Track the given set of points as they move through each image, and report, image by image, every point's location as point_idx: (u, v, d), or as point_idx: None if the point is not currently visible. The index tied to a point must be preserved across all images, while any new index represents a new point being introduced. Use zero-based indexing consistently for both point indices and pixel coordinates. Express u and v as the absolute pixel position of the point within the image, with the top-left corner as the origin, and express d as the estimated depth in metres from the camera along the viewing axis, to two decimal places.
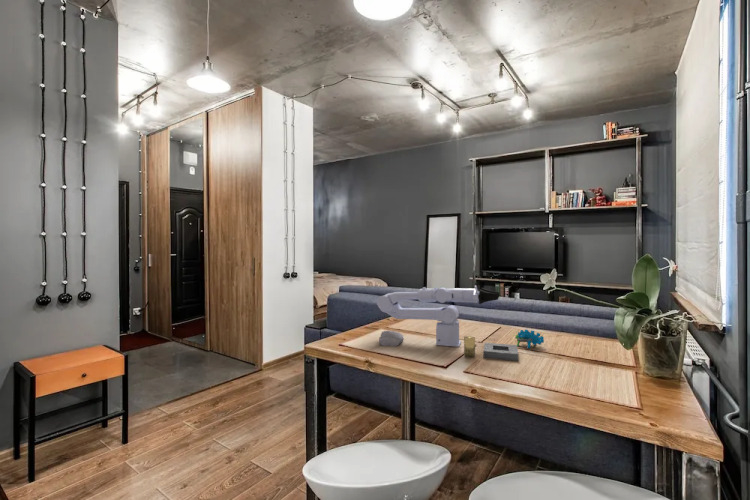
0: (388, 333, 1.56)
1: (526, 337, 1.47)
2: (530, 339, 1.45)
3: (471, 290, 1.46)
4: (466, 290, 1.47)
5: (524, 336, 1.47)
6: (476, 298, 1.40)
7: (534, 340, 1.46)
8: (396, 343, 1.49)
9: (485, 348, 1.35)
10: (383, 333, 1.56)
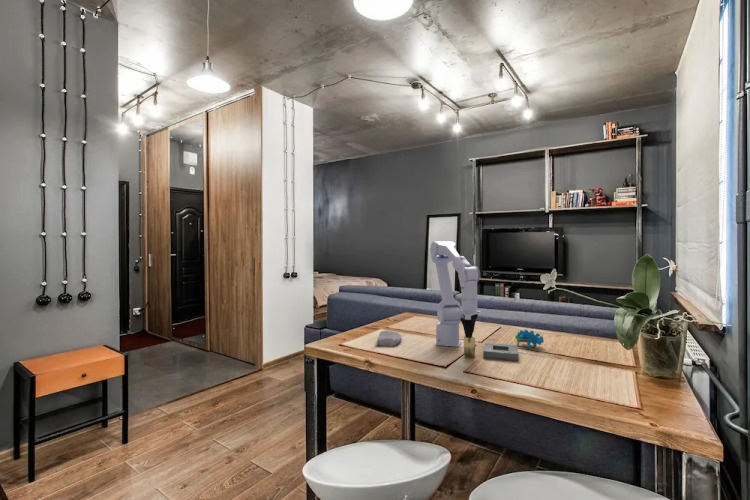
0: (386, 333, 1.56)
1: (526, 337, 1.47)
2: (530, 339, 1.45)
3: (475, 308, 1.32)
4: (475, 303, 1.32)
5: (524, 336, 1.47)
6: (466, 317, 1.28)
7: (534, 340, 1.46)
8: (394, 343, 1.49)
9: (485, 348, 1.35)
10: (381, 333, 1.57)
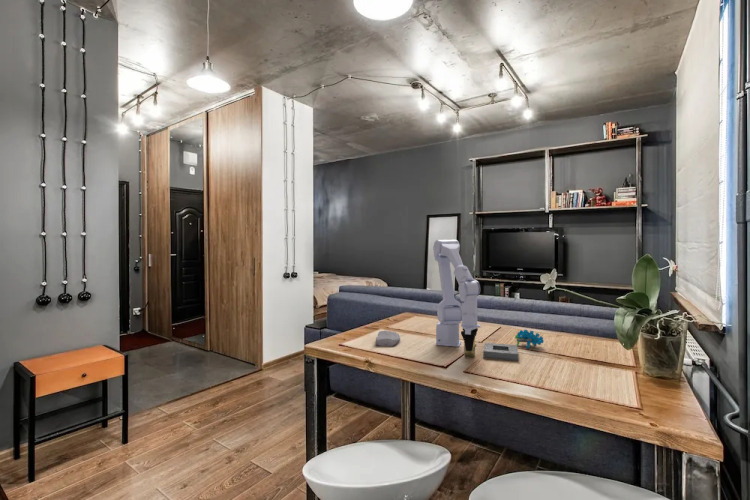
0: (385, 333, 1.56)
1: (526, 337, 1.47)
2: (529, 339, 1.45)
3: (475, 322, 1.32)
4: (475, 318, 1.32)
5: (524, 336, 1.47)
6: (466, 332, 1.28)
7: (534, 340, 1.46)
8: (393, 343, 1.49)
9: (485, 348, 1.35)
10: (380, 333, 1.57)
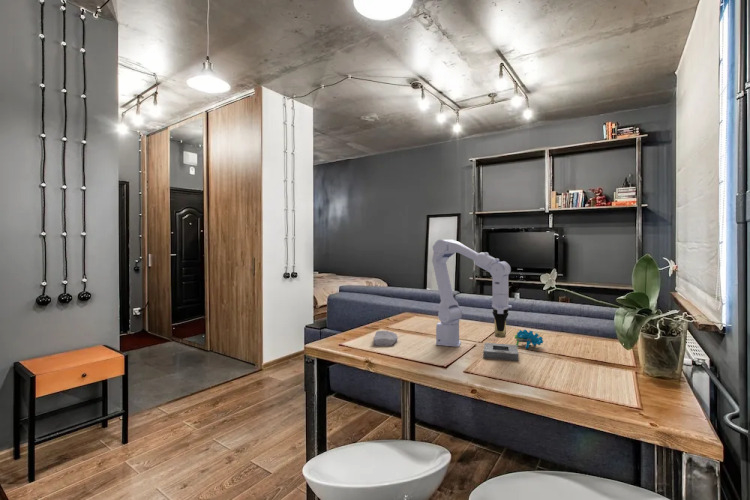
0: (382, 333, 1.56)
1: (525, 337, 1.46)
2: (529, 339, 1.45)
3: (506, 303, 1.33)
4: (506, 298, 1.33)
5: (523, 336, 1.47)
6: (499, 312, 1.29)
7: (533, 340, 1.45)
8: (390, 343, 1.49)
9: (485, 348, 1.35)
10: (377, 333, 1.57)
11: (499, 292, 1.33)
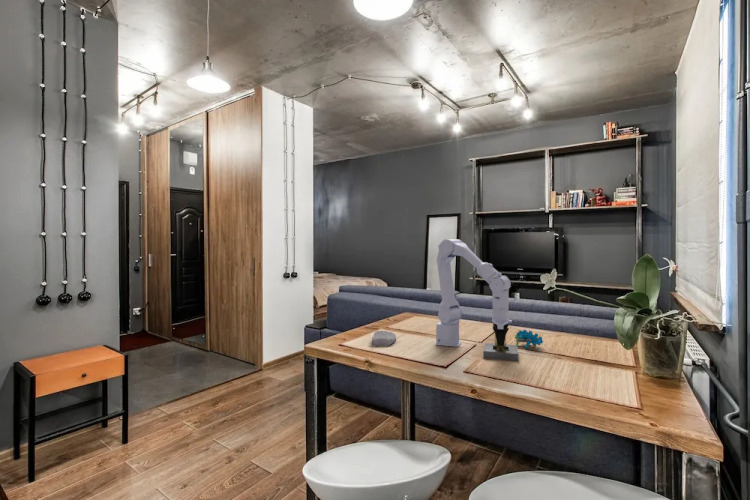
0: (381, 333, 1.57)
1: (525, 337, 1.46)
2: (529, 339, 1.44)
3: (506, 318, 1.33)
4: (506, 313, 1.33)
5: (523, 336, 1.47)
6: (499, 327, 1.29)
7: (533, 340, 1.45)
8: (389, 343, 1.49)
9: (485, 348, 1.35)
10: (376, 333, 1.57)
11: (499, 307, 1.33)
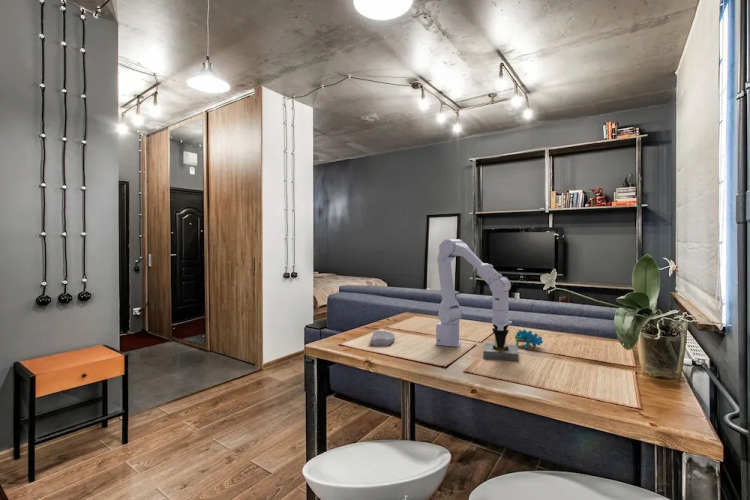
0: (380, 333, 1.57)
1: (525, 337, 1.46)
2: (528, 339, 1.44)
3: (506, 319, 1.33)
4: (506, 314, 1.33)
5: (523, 336, 1.47)
6: (499, 328, 1.29)
7: (533, 340, 1.45)
8: (388, 343, 1.49)
9: (485, 348, 1.35)
10: (375, 333, 1.57)
11: (499, 308, 1.33)
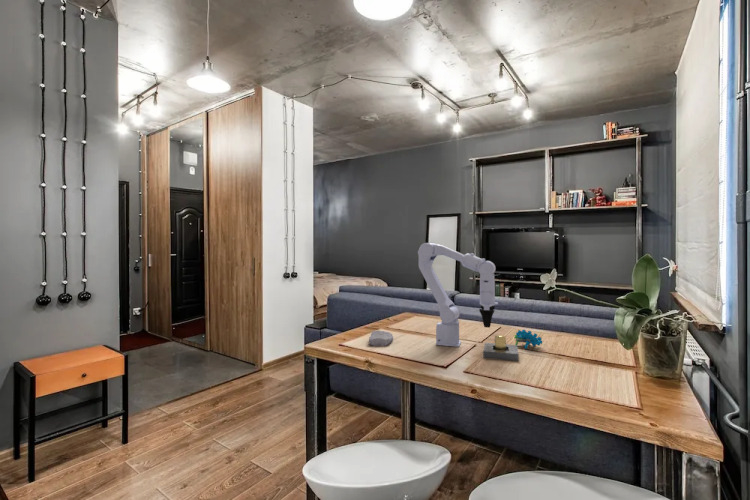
0: (378, 333, 1.57)
1: (524, 337, 1.46)
2: (528, 339, 1.44)
3: (492, 300, 1.42)
4: (492, 295, 1.42)
5: (522, 336, 1.47)
6: (485, 308, 1.37)
7: (532, 341, 1.45)
8: (386, 343, 1.49)
9: (485, 348, 1.35)
10: (373, 333, 1.57)
11: (488, 290, 1.41)
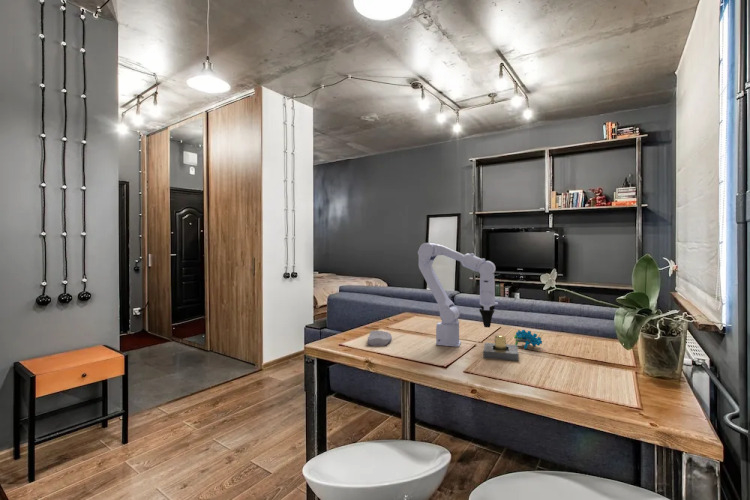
0: (377, 333, 1.57)
1: (524, 337, 1.46)
2: (528, 339, 1.44)
3: (492, 300, 1.42)
4: (492, 295, 1.42)
5: (522, 336, 1.46)
6: (485, 308, 1.37)
7: (532, 341, 1.45)
8: (385, 343, 1.50)
9: (485, 348, 1.35)
10: (372, 333, 1.57)
11: (488, 290, 1.41)
